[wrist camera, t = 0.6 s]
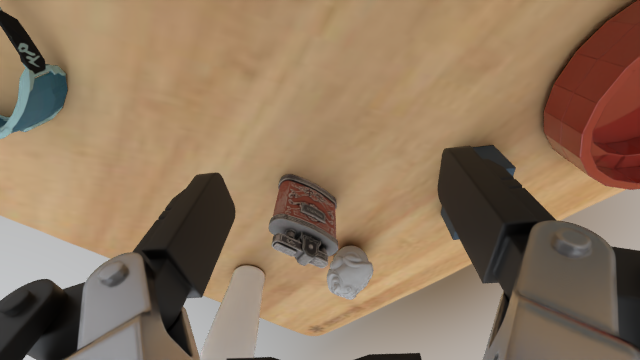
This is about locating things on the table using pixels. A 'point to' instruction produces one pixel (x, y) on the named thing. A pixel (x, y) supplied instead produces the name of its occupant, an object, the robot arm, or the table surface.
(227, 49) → the table surface
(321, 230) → the lighter
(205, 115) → the table surface
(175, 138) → the table surface
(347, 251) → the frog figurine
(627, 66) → the bowl
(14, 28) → the sunglasses
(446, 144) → the table surface
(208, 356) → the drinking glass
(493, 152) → the blue rectangular block
